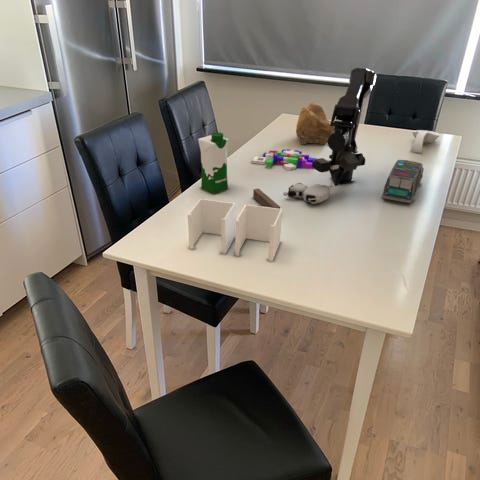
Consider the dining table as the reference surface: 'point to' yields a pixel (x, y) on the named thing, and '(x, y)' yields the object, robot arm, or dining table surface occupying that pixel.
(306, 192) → the robot toy
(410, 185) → the toy van
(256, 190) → the walnut kerb
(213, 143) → the milk carton
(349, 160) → the robot arm
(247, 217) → the storage bins
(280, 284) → the dining table surface
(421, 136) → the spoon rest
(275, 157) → the building block set
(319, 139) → the rough brown rock
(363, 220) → the dining table surface
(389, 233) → the dining table surface
